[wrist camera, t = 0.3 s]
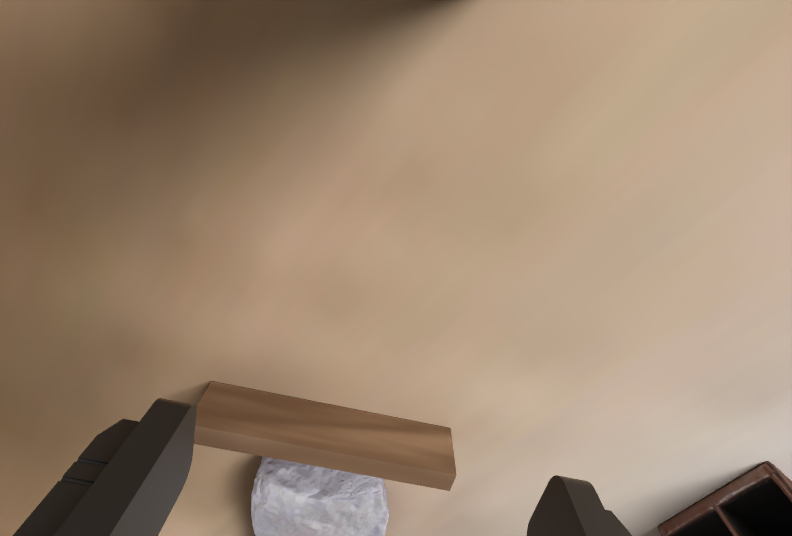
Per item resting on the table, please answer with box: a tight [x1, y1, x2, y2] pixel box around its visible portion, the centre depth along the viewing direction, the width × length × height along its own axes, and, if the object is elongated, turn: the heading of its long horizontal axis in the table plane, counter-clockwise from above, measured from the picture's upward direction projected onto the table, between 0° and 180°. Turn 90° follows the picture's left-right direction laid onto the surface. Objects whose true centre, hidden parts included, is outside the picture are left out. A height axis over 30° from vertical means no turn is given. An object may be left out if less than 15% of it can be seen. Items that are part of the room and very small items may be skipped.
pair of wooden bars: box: [194, 381, 456, 491], centre depth 34 cm, size 20×17×4 cm
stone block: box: [251, 457, 389, 536], centre depth 35 cm, size 12×5×10 cm
